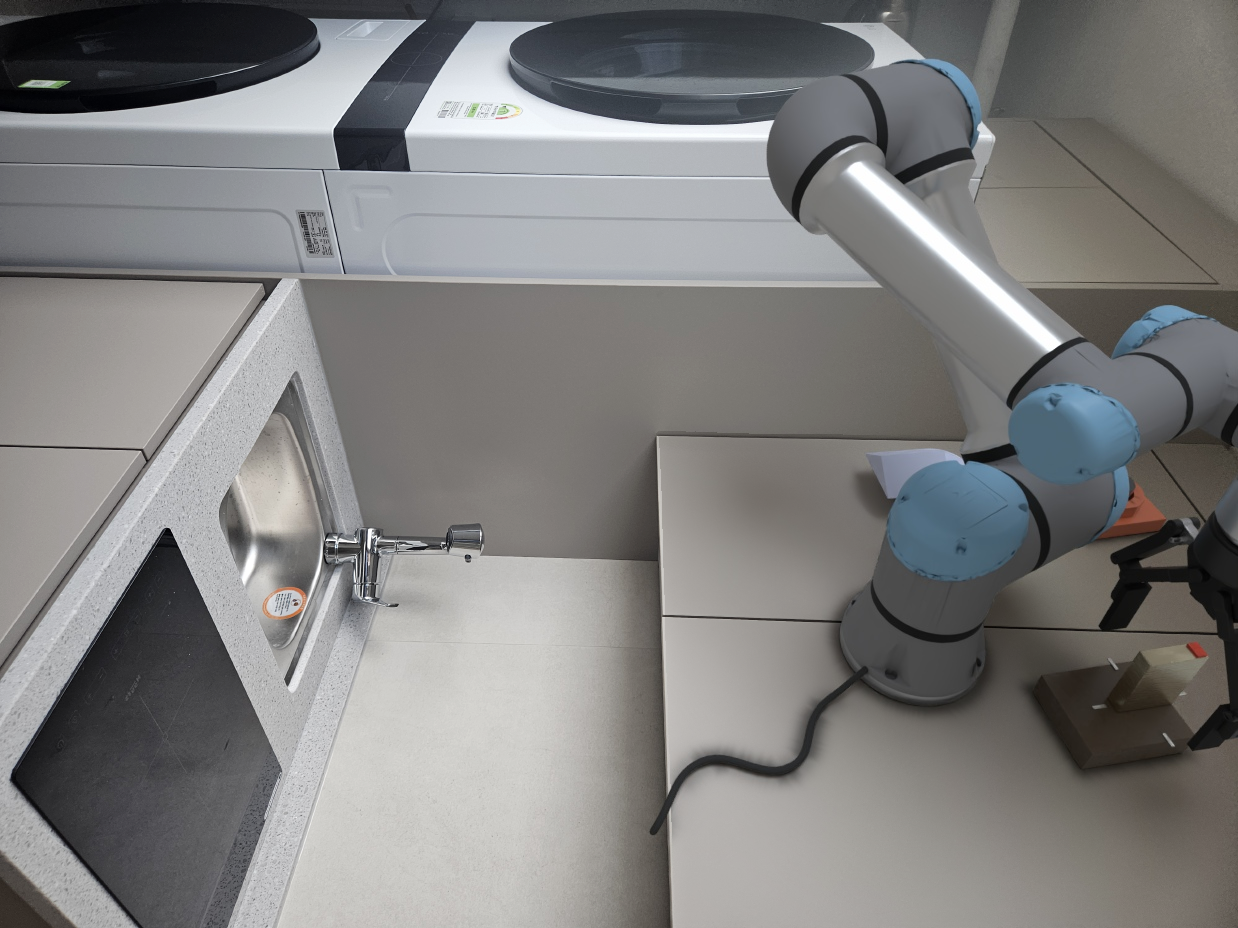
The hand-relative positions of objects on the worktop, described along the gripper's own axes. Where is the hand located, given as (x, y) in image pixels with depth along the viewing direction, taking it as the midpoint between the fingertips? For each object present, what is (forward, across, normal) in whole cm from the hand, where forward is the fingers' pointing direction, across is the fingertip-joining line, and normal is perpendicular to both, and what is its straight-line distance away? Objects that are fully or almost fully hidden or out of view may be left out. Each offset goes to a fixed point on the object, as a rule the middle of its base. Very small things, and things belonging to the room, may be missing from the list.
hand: (1154, 682), depth 79 cm
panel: (+6, 0, +1) cm, 7 cm away
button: (+3, +28, -16) cm, 32 cm away
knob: (+3, 0, 0) cm, 3 cm away
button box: (+6, +28, -16) cm, 33 cm away
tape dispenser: (+6, +36, +6) cm, 37 cm away
